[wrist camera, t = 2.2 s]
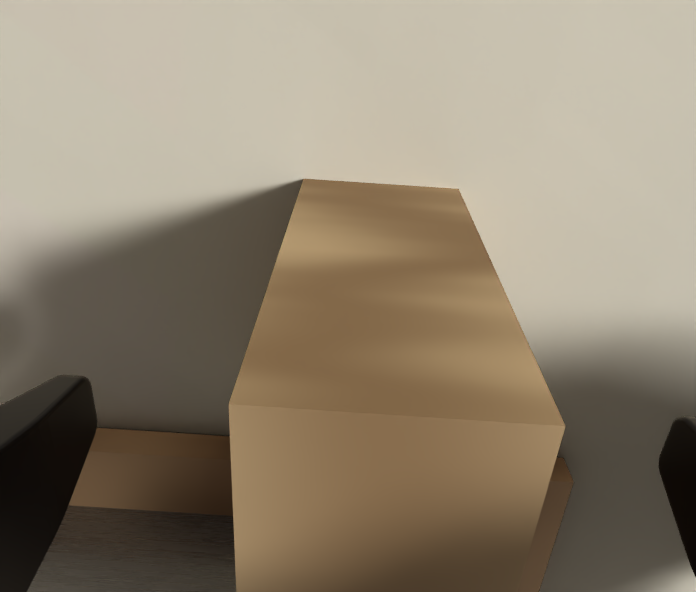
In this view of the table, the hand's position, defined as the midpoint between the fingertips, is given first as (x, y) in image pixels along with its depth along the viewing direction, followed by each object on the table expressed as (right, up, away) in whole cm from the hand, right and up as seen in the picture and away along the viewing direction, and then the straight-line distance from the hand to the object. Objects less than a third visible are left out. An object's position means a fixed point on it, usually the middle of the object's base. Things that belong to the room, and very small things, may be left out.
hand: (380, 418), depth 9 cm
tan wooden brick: (0, +2, +3) cm, 4 cm away
